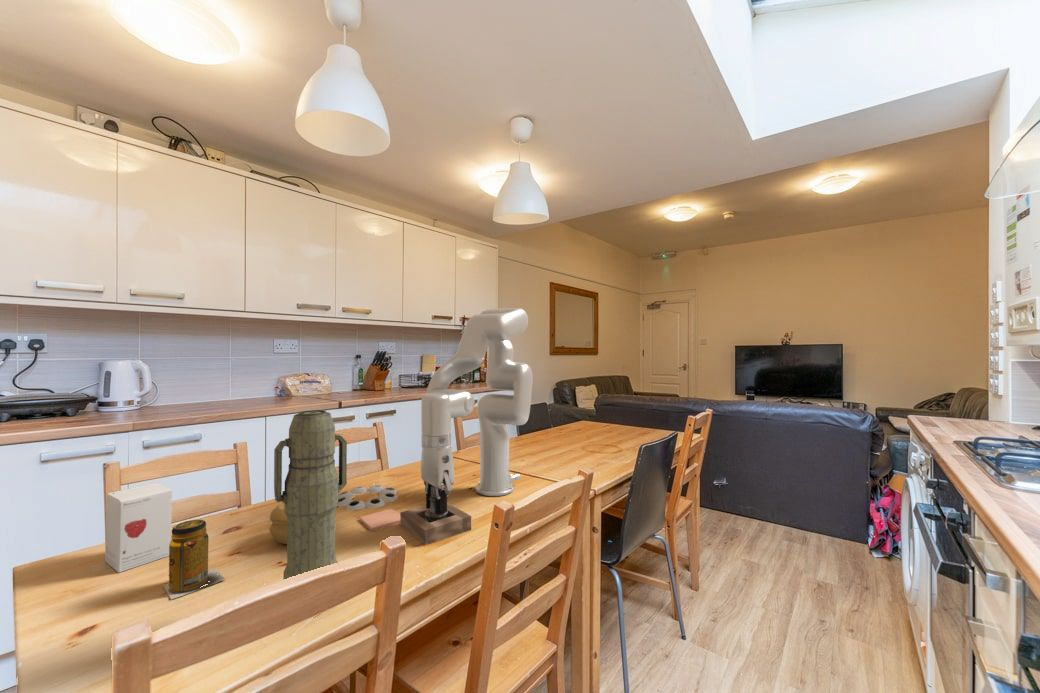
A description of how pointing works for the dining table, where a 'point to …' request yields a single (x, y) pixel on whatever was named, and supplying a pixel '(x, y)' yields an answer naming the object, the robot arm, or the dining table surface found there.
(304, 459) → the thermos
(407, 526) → the brown square wooden frame
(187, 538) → the condiment
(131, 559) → the supplement box
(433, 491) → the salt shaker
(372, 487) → the paint palette
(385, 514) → the terracotta tile
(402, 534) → the dining table surface
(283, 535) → the pot
